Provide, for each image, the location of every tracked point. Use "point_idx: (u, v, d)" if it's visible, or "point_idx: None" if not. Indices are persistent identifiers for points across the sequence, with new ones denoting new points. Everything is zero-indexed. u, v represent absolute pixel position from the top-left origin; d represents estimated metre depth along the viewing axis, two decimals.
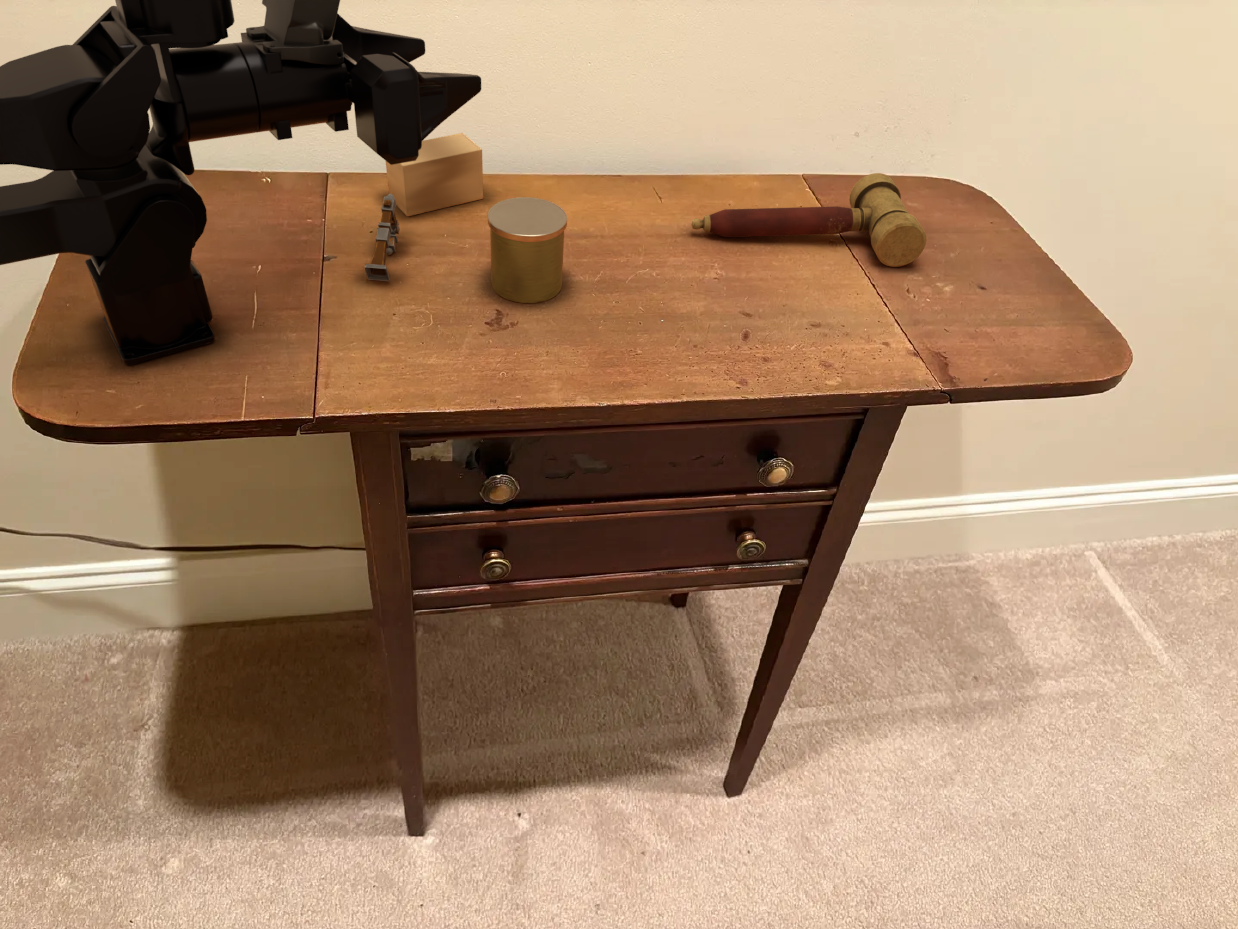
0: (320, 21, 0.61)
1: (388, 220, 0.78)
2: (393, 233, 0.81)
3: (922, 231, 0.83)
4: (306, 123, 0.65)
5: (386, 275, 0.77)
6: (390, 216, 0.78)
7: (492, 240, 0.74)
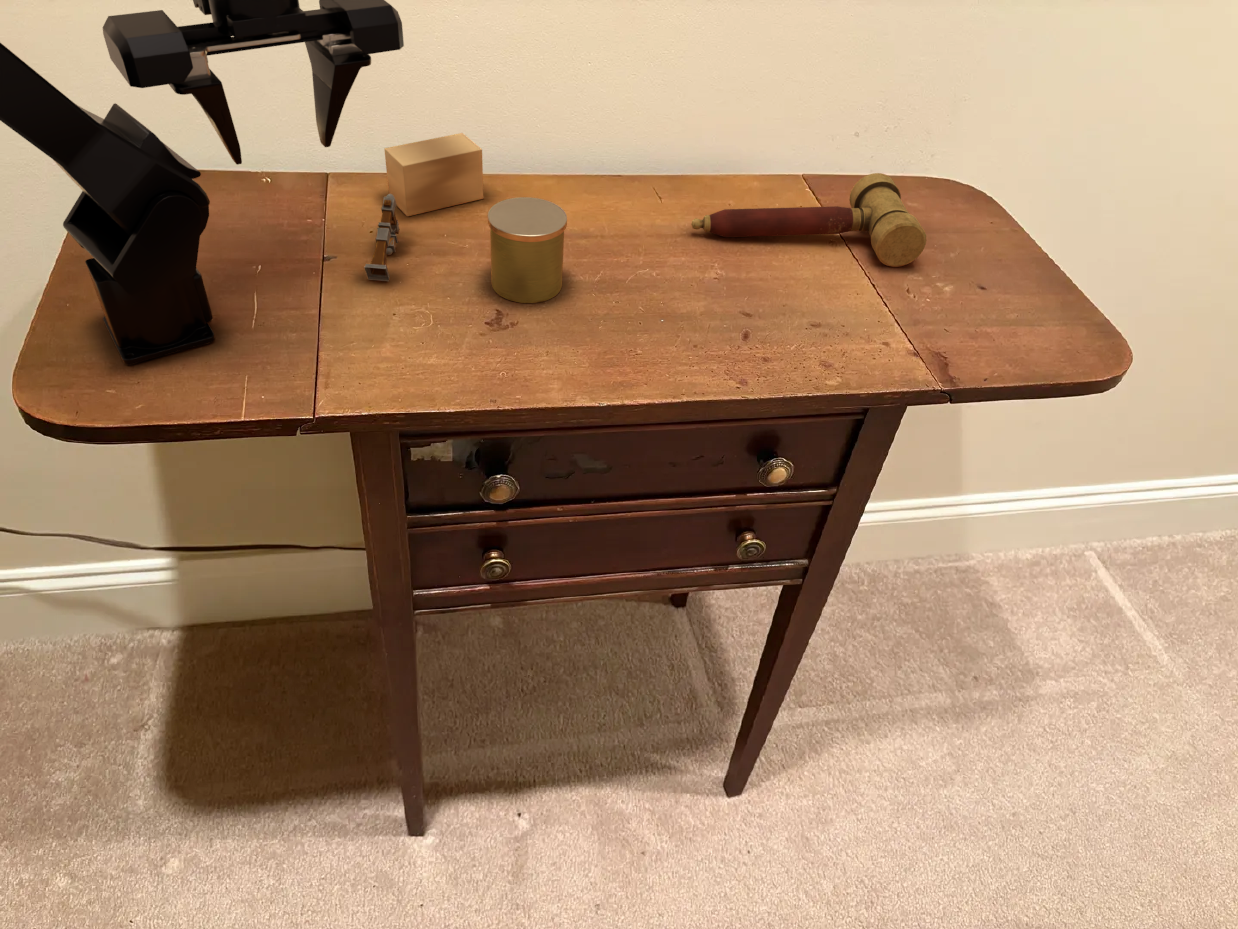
0: None
1: (388, 220, 0.78)
2: (393, 233, 0.81)
3: (922, 231, 0.83)
4: None
5: (386, 275, 0.77)
6: (390, 216, 0.78)
7: (492, 240, 0.74)
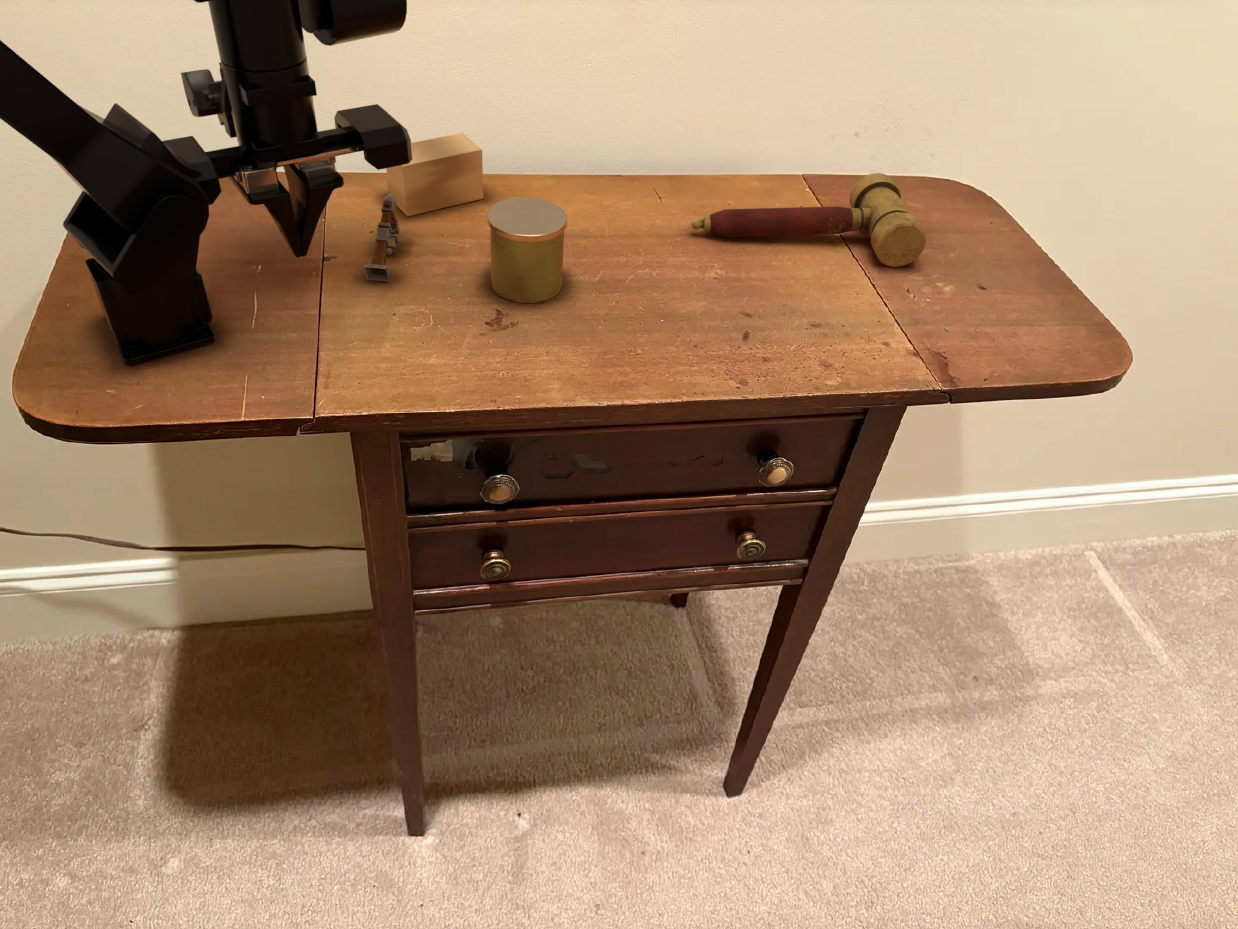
0: None
1: (388, 220, 0.78)
2: (393, 233, 0.81)
3: (922, 231, 0.83)
4: (307, 112, 0.66)
5: (386, 275, 0.77)
6: (390, 216, 0.78)
7: (492, 240, 0.74)
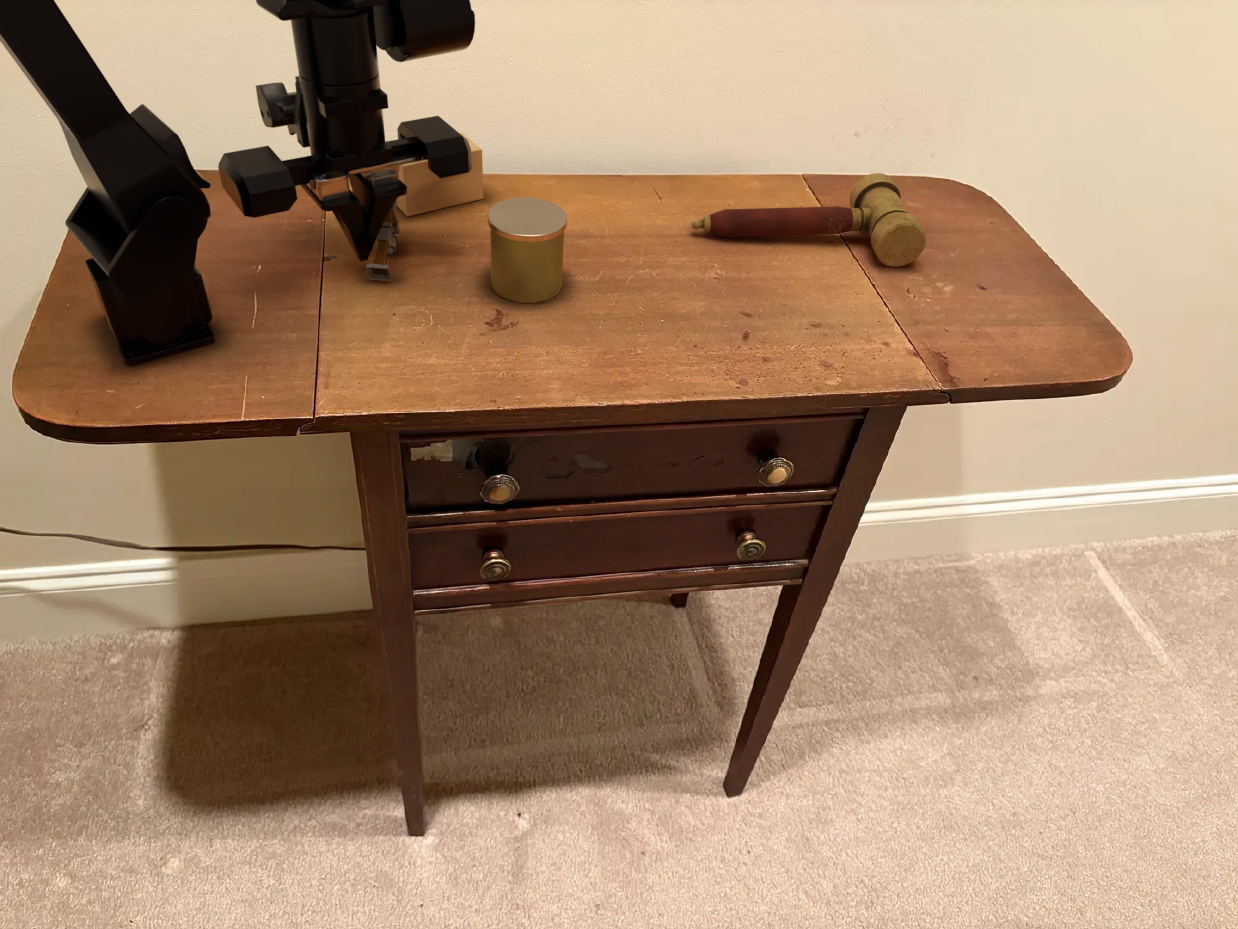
0: None
1: (389, 220, 0.78)
2: (394, 233, 0.81)
3: (922, 231, 0.83)
4: (378, 123, 0.69)
5: (387, 275, 0.77)
6: (391, 216, 0.78)
7: (492, 240, 0.74)
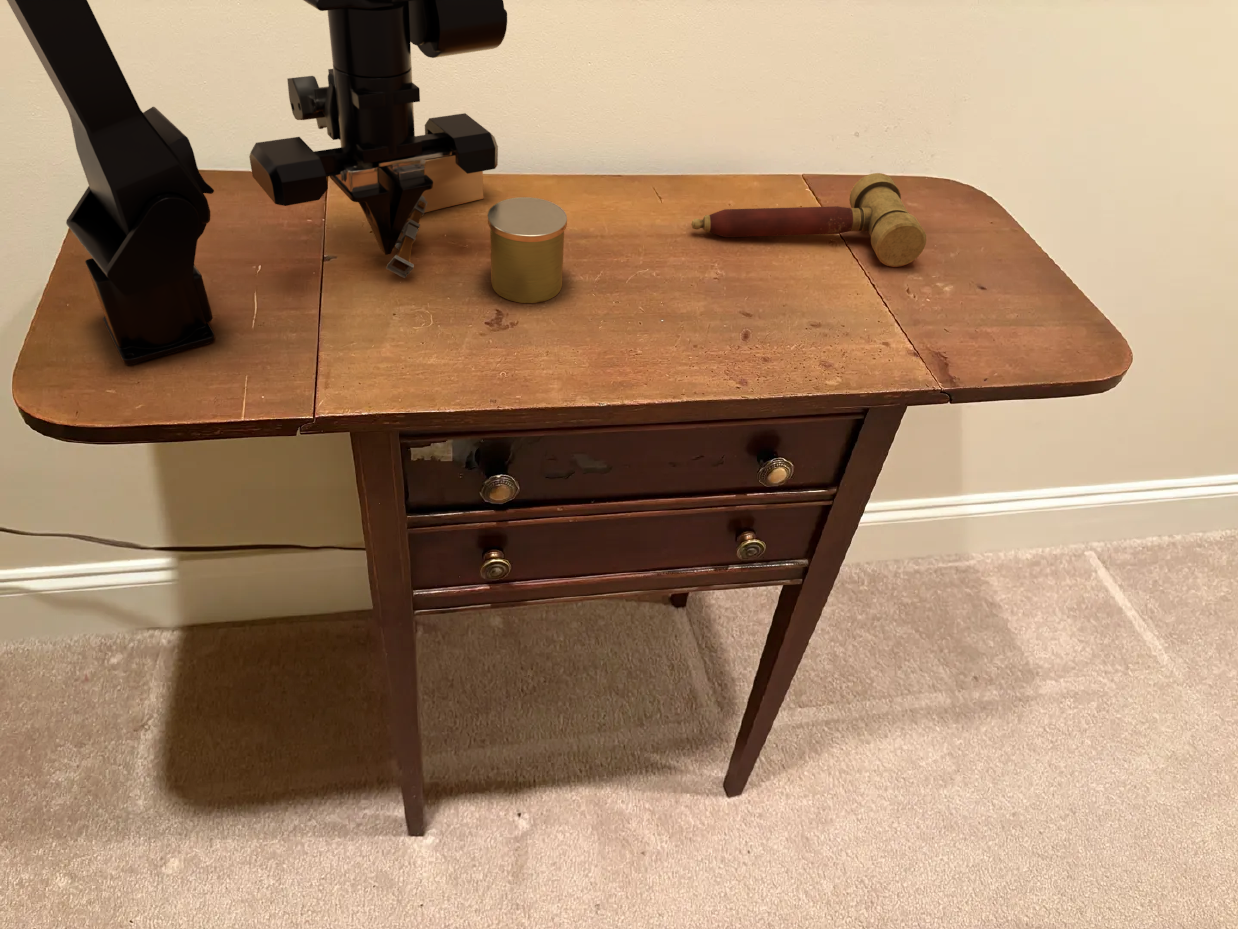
0: None
1: (418, 221, 0.79)
2: None
3: (922, 231, 0.83)
4: (409, 117, 0.70)
5: (404, 271, 0.78)
6: (419, 217, 0.79)
7: (492, 240, 0.74)
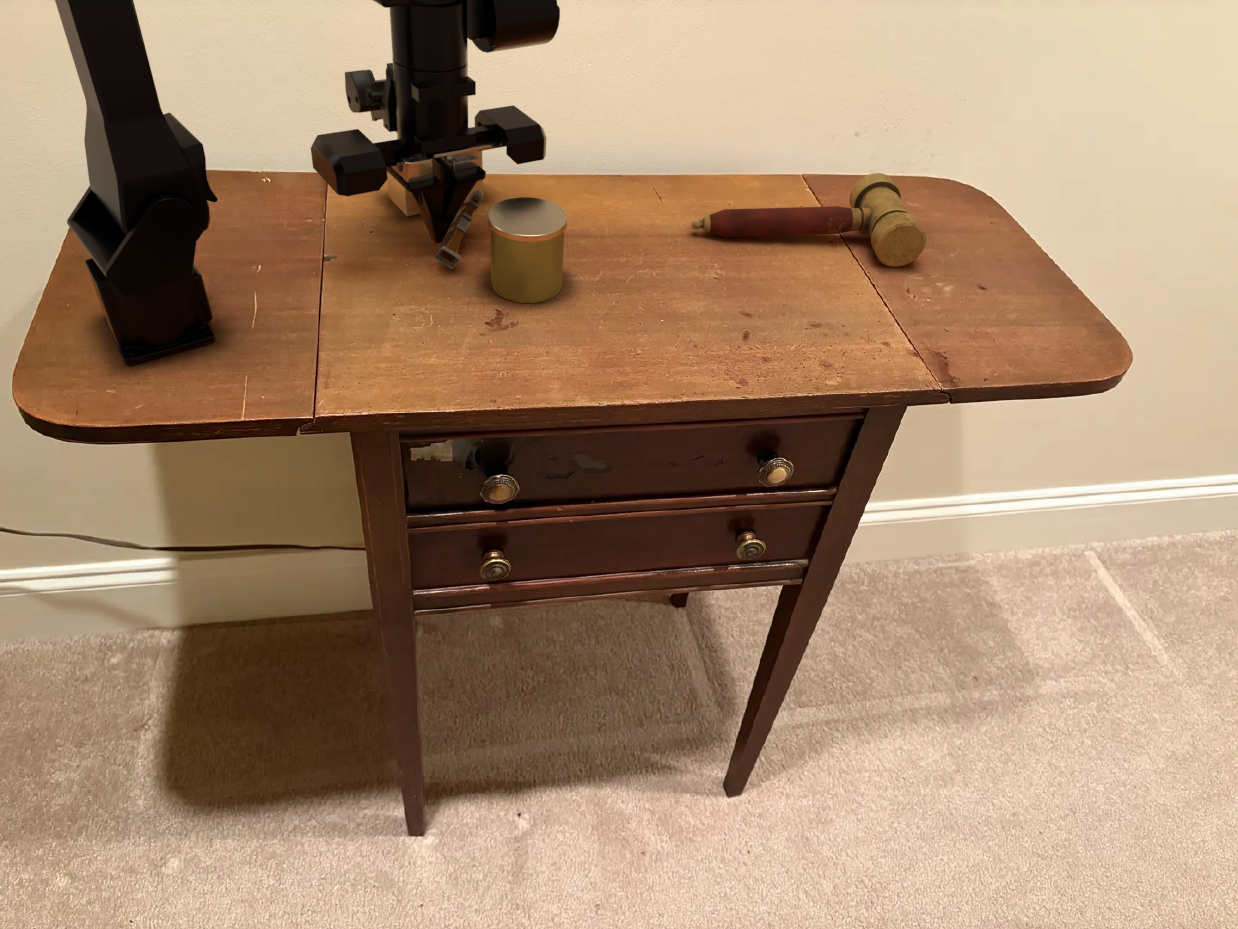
0: None
1: (471, 214, 0.81)
2: None
3: (922, 231, 0.83)
4: (464, 109, 0.73)
5: (451, 262, 0.79)
6: (473, 211, 0.81)
7: (492, 240, 0.74)
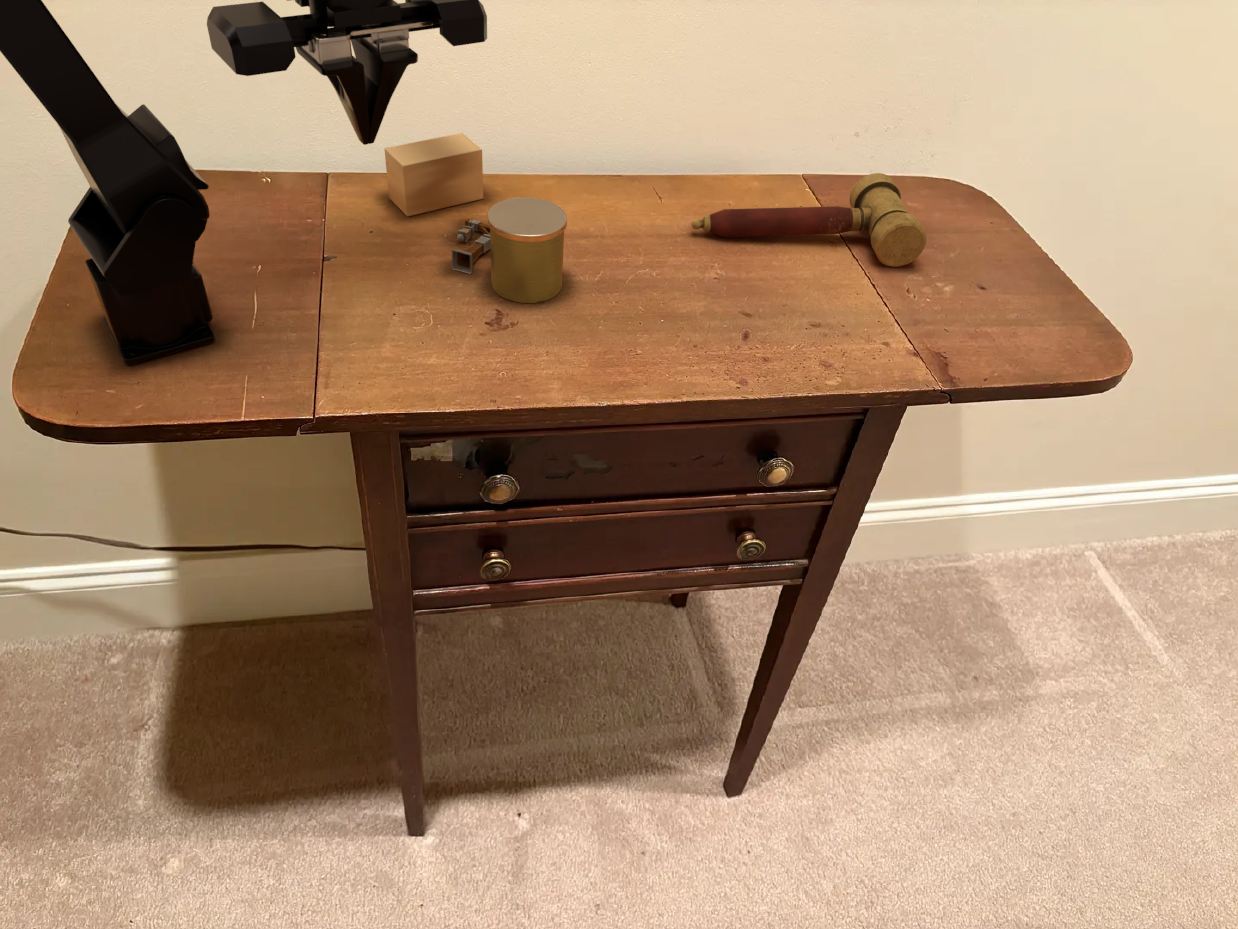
0: None
1: None
2: None
3: (922, 231, 0.83)
4: None
5: (457, 264, 0.79)
6: None
7: (492, 240, 0.74)
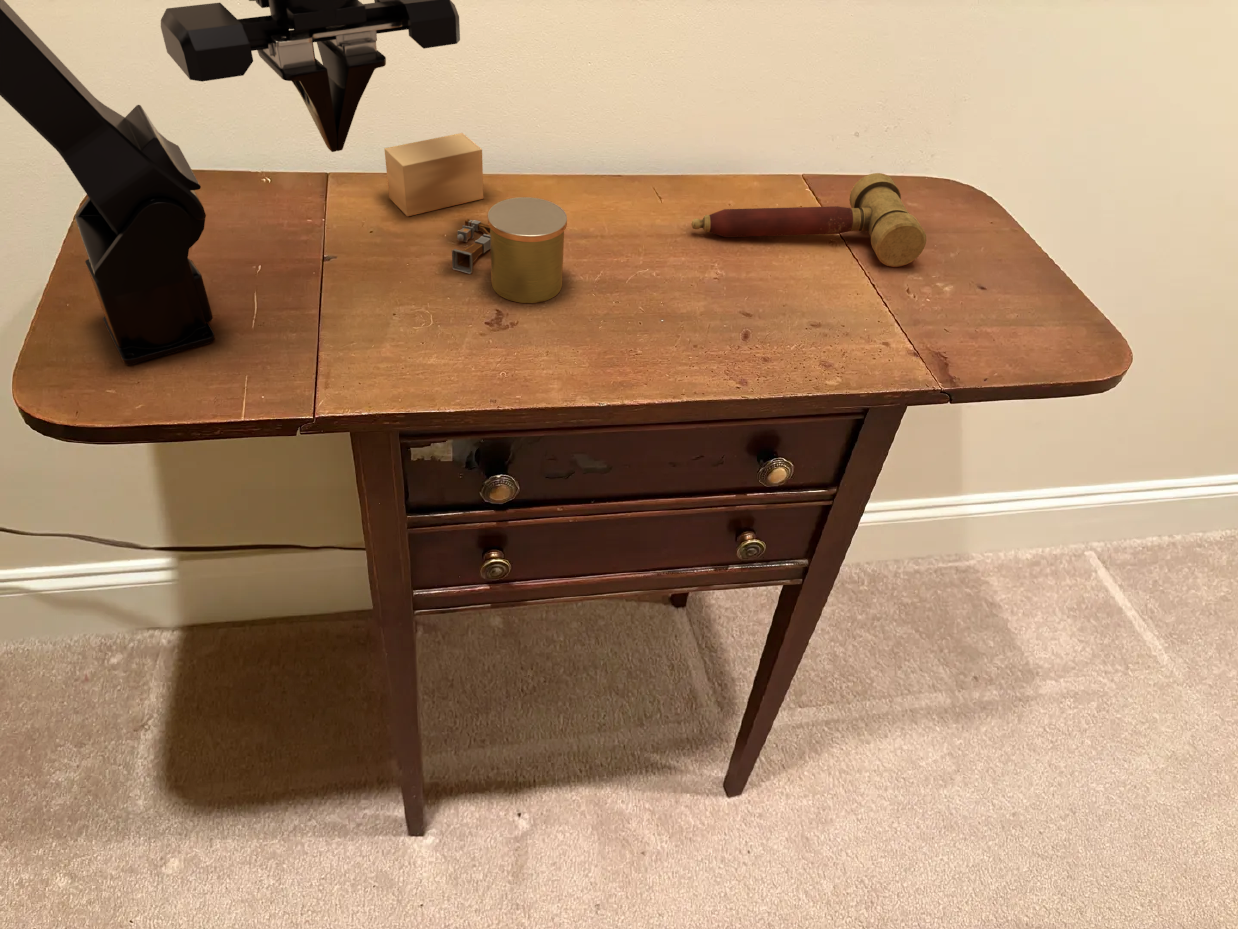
0: None
1: None
2: None
3: (922, 231, 0.83)
4: None
5: (457, 265, 0.79)
6: None
7: (492, 240, 0.74)
